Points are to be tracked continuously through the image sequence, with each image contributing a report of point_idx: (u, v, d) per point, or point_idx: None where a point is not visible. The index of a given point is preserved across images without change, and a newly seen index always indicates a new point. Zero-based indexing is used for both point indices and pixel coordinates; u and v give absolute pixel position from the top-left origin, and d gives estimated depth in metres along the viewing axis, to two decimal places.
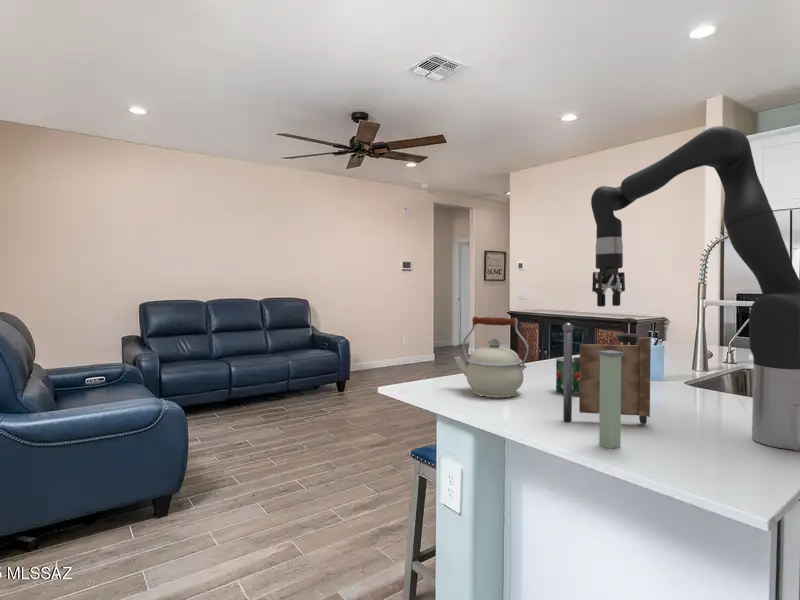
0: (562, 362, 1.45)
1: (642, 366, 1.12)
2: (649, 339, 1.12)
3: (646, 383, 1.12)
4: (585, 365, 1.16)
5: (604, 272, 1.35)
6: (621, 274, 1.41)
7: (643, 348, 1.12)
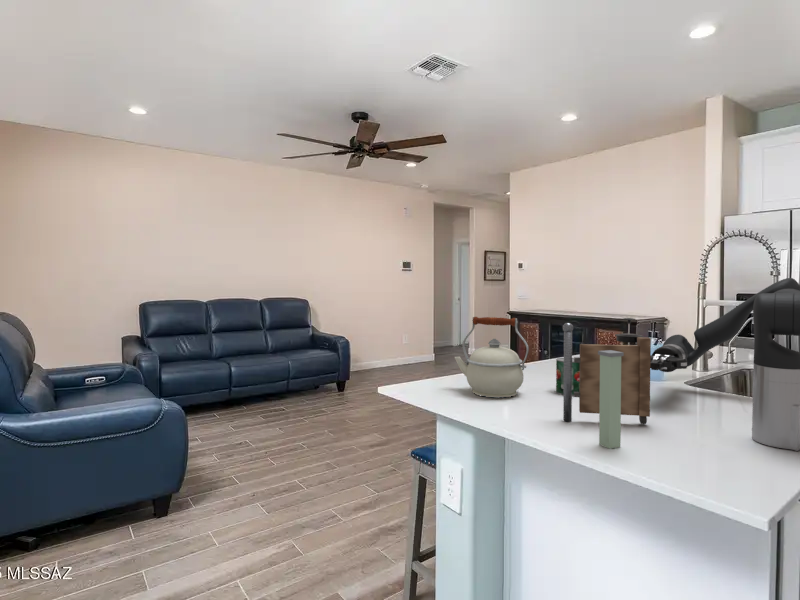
0: (562, 362, 1.45)
1: (642, 366, 1.12)
2: (649, 339, 1.12)
3: (646, 383, 1.12)
4: (585, 365, 1.16)
5: None
6: None
7: (643, 348, 1.12)
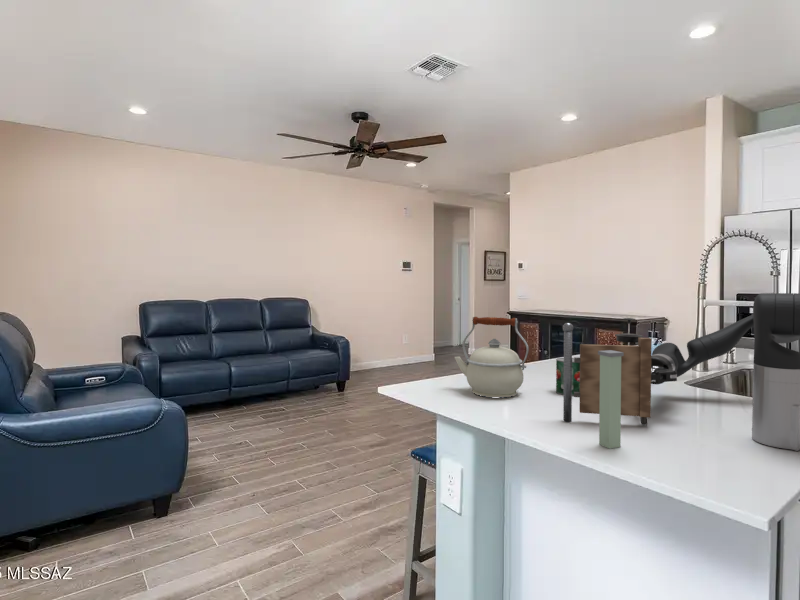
0: (562, 362, 1.45)
1: (643, 367, 1.12)
2: (650, 339, 1.11)
3: (647, 383, 1.12)
4: (585, 365, 1.16)
5: None
6: None
7: (644, 348, 1.11)
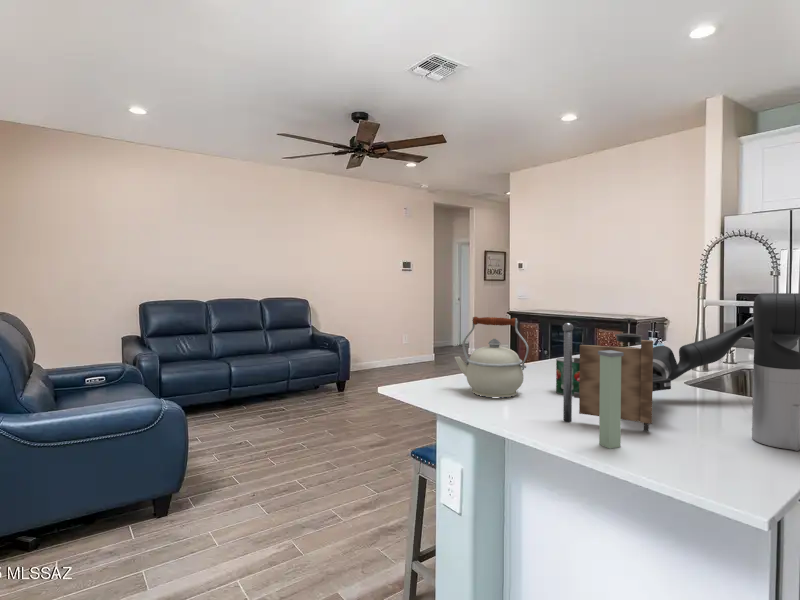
0: (562, 362, 1.45)
1: (643, 370, 1.07)
2: (651, 342, 1.06)
3: (648, 388, 1.07)
4: (585, 366, 1.14)
5: None
6: None
7: (644, 351, 1.07)
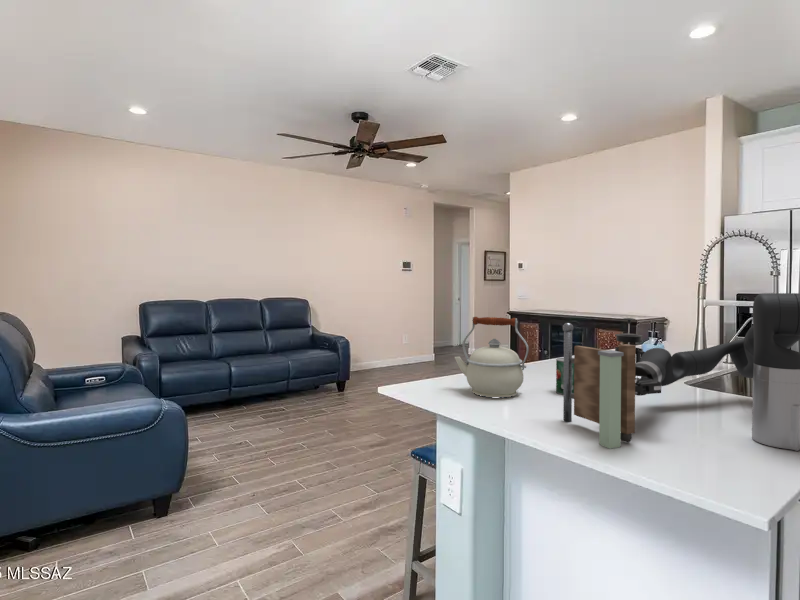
0: (562, 362, 1.45)
1: None
2: (626, 347, 0.99)
3: (624, 396, 1.00)
4: (578, 367, 1.13)
5: None
6: None
7: (621, 356, 1.00)
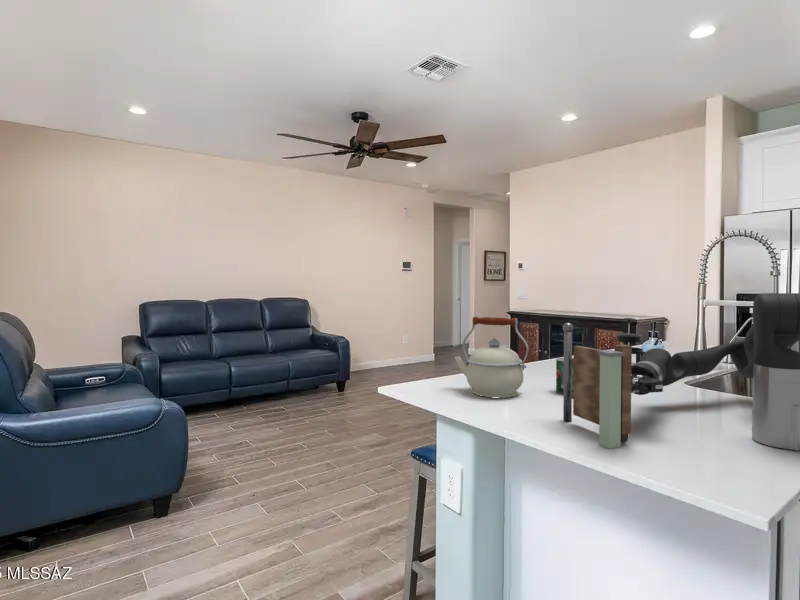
0: (562, 362, 1.45)
1: None
2: (622, 347, 0.99)
3: None
4: (577, 367, 1.13)
5: None
6: None
7: None
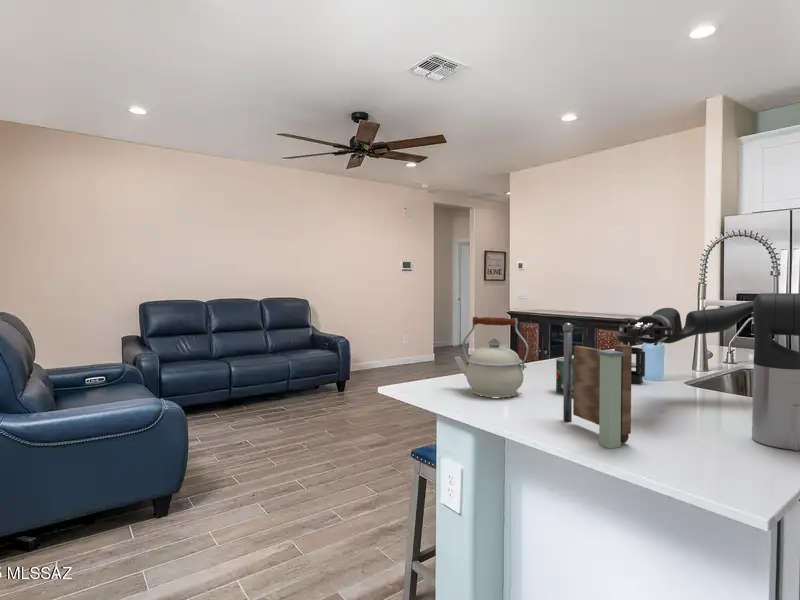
0: (562, 362, 1.45)
1: None
2: (622, 347, 0.99)
3: None
4: (577, 367, 1.13)
5: None
6: None
7: None
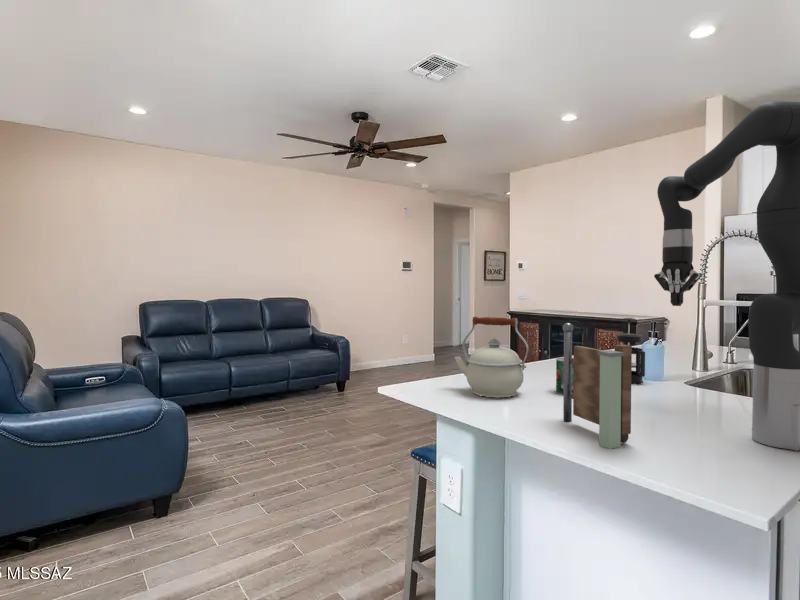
0: (562, 362, 1.45)
1: None
2: (622, 347, 0.99)
3: None
4: (577, 367, 1.13)
5: (693, 268, 1.28)
6: None
7: None
